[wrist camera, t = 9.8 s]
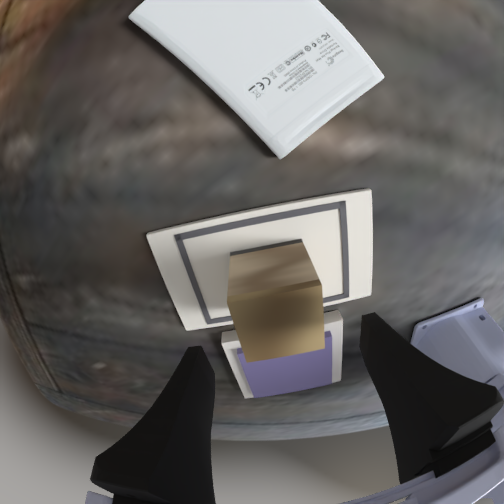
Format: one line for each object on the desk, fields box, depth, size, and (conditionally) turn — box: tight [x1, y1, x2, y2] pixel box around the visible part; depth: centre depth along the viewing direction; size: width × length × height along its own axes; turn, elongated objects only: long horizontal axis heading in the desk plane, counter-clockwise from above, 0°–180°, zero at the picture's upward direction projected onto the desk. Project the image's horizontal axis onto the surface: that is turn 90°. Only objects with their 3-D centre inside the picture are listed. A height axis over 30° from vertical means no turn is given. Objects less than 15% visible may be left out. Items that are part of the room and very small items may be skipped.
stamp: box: [227, 239, 325, 363], centre depth 16 cm, size 4×4×5 cm
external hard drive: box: [129, 0, 384, 159], centre depth 11 cm, size 2×8×12 cm
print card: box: [146, 188, 373, 331], centre depth 18 cm, size 14×8×1 cm, turn 102°
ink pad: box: [221, 310, 343, 398], centre depth 21 cm, size 9×8×2 cm
